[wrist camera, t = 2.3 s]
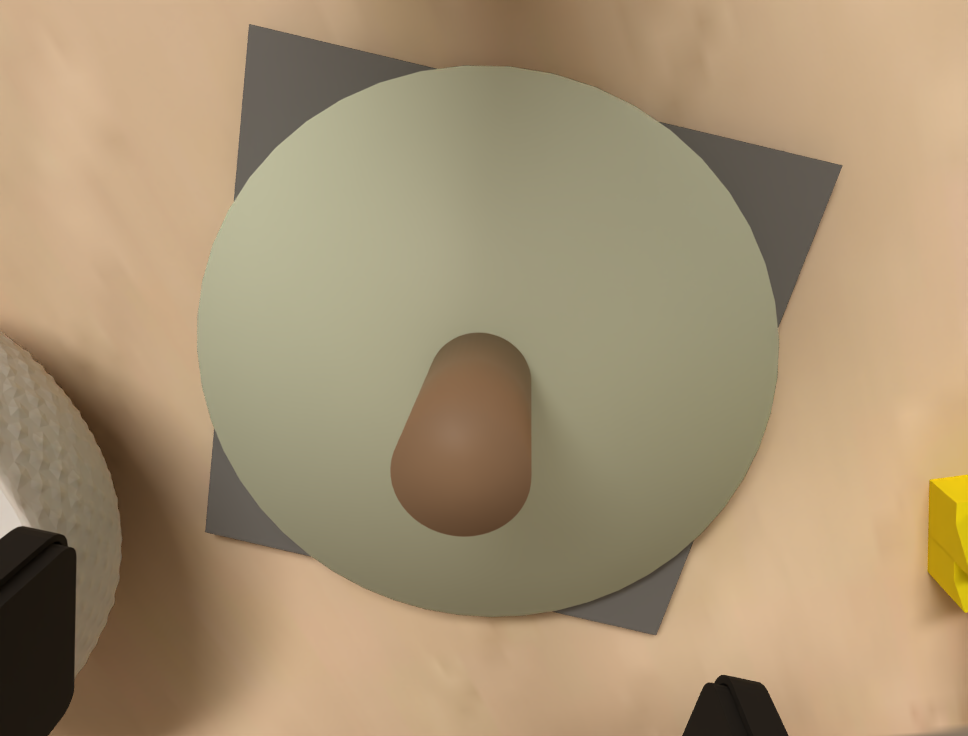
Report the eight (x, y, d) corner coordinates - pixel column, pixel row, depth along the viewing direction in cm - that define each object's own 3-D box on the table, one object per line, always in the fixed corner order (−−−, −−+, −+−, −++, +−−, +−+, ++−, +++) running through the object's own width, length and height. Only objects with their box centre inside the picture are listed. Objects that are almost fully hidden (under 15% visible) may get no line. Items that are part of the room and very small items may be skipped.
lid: (866, 151, 18) (1049, 159, 12) (665, 648, 24) (712, 831, 18) (233, -1, 18) (69, -75, 12) (191, 539, 24) (68, 686, 18)
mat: (833, 164, 19) (842, 165, 18) (653, 623, 25) (655, 635, 24) (257, 27, 19) (249, 24, 18) (212, 522, 24) (205, 532, 24)
